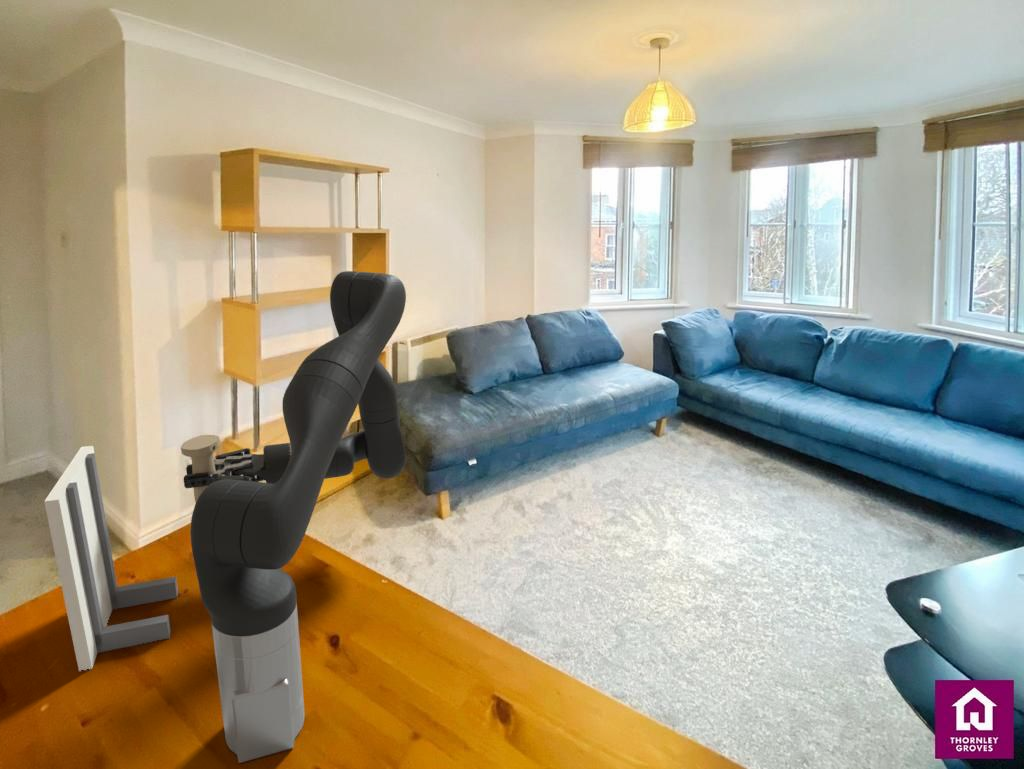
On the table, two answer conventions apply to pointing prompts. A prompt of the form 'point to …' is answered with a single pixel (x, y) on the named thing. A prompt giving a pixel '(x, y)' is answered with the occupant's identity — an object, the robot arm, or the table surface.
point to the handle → (201, 456)
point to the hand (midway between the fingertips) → (186, 476)
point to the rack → (96, 568)
